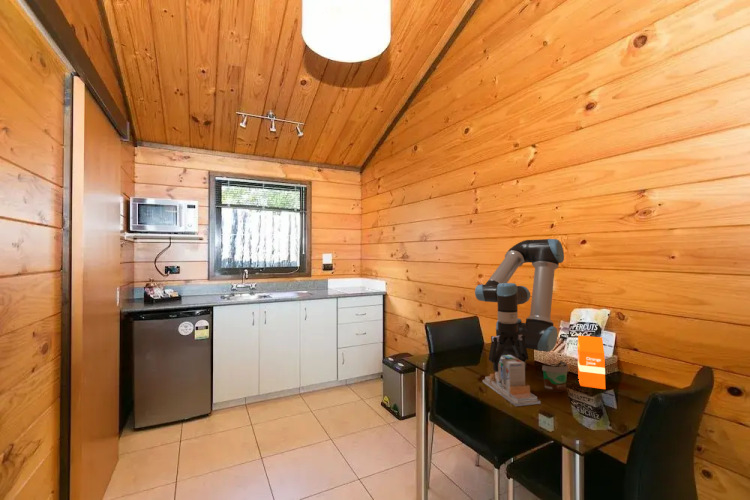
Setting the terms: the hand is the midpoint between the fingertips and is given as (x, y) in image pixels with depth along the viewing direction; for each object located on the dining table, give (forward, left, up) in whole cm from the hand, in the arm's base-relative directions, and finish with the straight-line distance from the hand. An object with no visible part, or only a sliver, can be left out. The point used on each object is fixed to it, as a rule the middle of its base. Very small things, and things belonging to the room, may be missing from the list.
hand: (509, 378), depth 132 cm
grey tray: (0, 0, -5) cm, 5 cm away
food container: (-21, +2, -6) cm, 22 cm away
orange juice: (-38, 0, -6) cm, 38 cm away
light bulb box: (-1, 0, -3) cm, 3 cm away
